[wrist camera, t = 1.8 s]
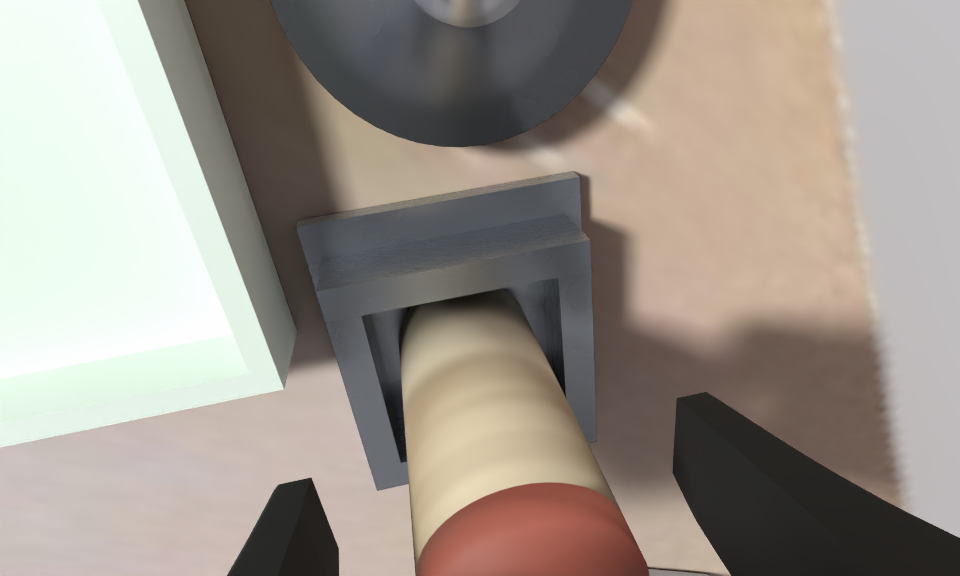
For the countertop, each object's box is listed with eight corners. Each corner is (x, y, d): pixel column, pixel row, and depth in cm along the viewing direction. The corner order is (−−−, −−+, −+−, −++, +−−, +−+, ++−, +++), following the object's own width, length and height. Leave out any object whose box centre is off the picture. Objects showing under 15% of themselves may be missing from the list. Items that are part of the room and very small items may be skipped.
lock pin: (532, 375, 16) (646, 645, 9) (412, 401, 16) (440, 700, 9) (521, 267, 14) (652, 502, 8) (386, 293, 14) (397, 561, 7)
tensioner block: (584, 409, 18) (610, 461, 16) (370, 456, 17) (369, 516, 15) (573, 171, 14) (606, 198, 12) (298, 219, 13) (285, 257, 11)
